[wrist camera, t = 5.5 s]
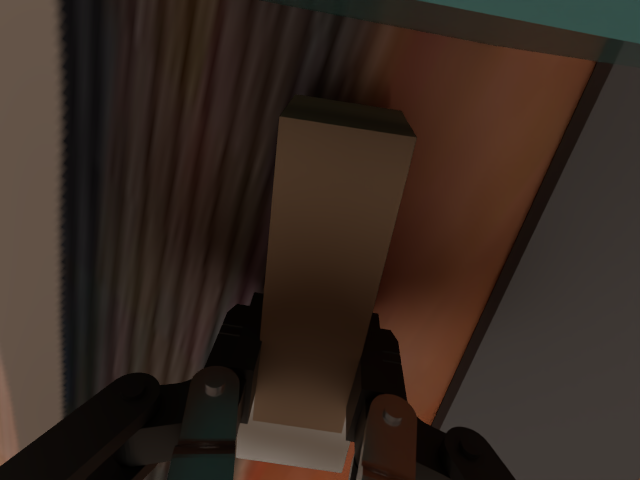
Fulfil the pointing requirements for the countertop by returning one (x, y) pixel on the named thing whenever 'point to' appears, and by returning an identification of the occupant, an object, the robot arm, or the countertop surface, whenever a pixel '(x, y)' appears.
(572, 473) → the mat
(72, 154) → the countertop surface
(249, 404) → the robot arm
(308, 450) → the tan two-tone long part
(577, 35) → the tile
